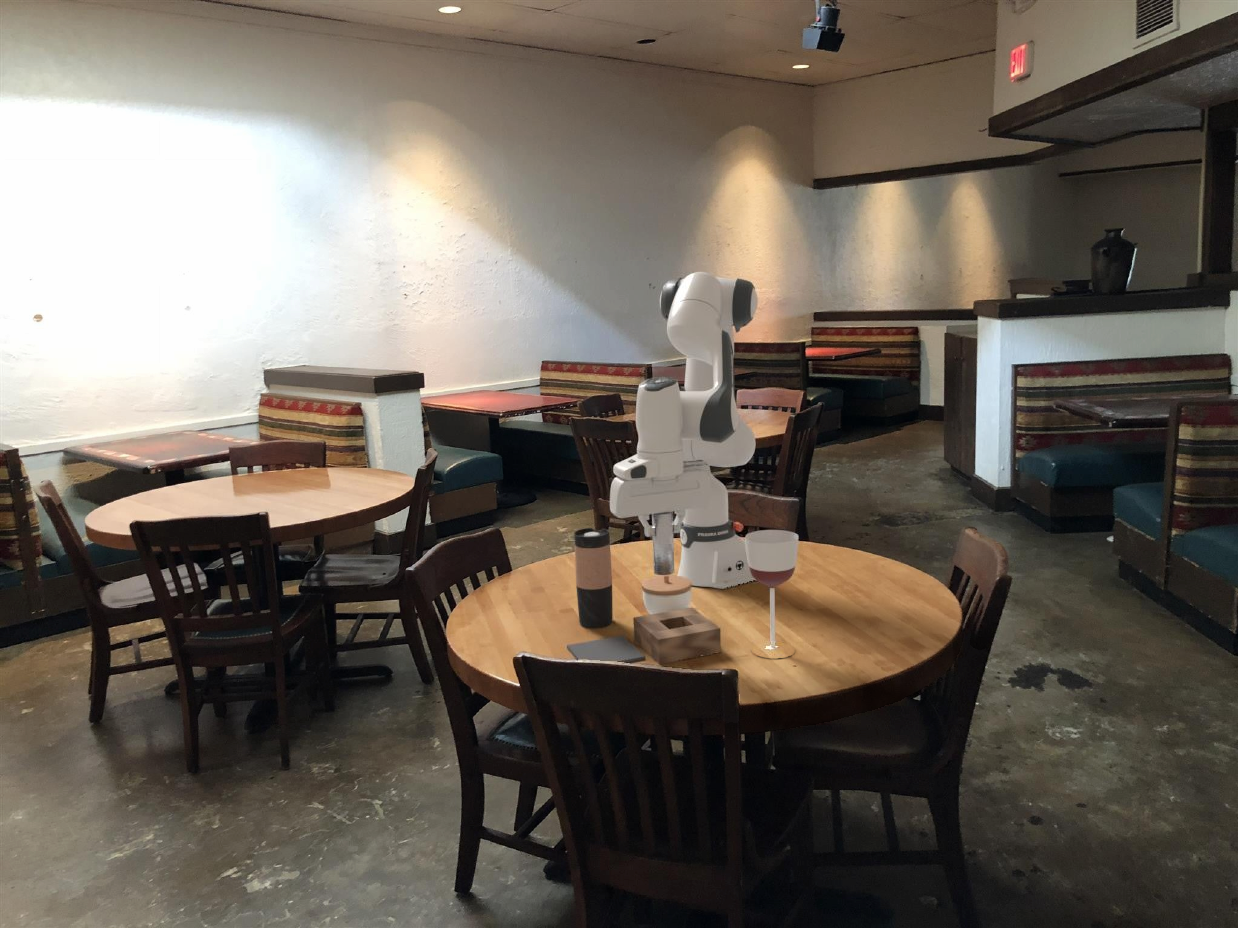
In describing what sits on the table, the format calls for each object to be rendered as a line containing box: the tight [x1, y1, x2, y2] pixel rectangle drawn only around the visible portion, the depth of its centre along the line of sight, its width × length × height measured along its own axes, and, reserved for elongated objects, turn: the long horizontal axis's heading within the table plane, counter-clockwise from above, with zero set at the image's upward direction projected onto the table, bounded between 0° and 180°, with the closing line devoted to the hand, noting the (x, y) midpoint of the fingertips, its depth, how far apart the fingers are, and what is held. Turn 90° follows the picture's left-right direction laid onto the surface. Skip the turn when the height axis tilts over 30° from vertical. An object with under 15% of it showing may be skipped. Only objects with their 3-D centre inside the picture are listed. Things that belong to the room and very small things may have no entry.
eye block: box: [632, 607, 722, 665], centre depth 185 cm, size 13×13×5 cm
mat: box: [566, 634, 646, 663], centre depth 184 cm, size 12×12×1 cm
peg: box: [651, 511, 675, 576], centre depth 181 cm, size 4×4×12 cm
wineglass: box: [744, 529, 799, 650], centre depth 179 cm, size 9×10×23 cm
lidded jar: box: [641, 574, 693, 615], centre depth 201 cm, size 11×11×9 cm
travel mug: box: [573, 527, 614, 629], centre depth 199 cm, size 8×8×20 cm
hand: (662, 534), depth 180 cm, fingers closed on peg, 4 cm apart
